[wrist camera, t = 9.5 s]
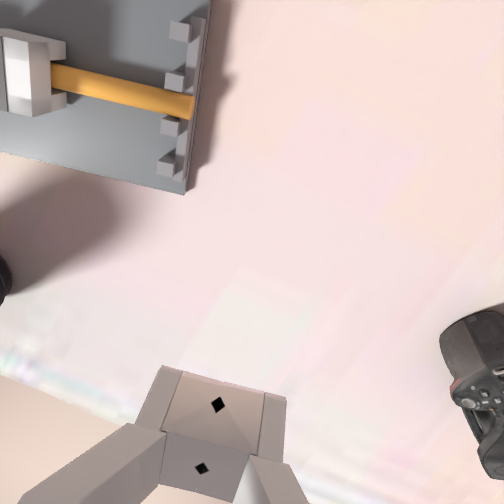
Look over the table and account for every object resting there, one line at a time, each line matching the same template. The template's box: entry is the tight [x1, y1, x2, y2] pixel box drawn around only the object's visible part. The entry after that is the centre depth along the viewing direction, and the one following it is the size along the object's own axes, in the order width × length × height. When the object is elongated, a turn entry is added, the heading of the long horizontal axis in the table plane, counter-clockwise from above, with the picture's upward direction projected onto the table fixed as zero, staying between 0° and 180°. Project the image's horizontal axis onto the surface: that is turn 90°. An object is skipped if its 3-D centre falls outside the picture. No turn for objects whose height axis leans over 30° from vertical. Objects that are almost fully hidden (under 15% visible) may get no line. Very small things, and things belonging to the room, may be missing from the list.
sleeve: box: [0, 28, 67, 117], centre depth 27 cm, size 4×4×4 cm
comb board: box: [0, 0, 212, 195], centre depth 28 cm, size 14×17×4 cm
